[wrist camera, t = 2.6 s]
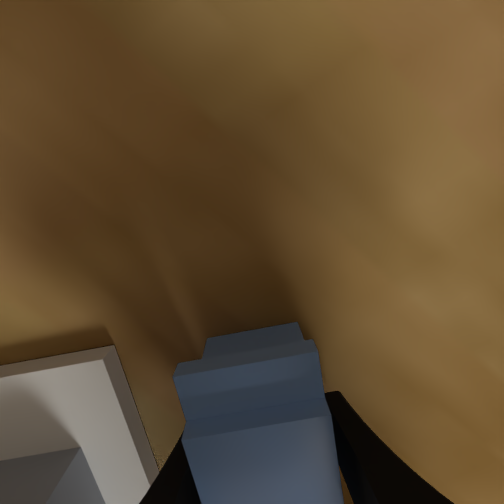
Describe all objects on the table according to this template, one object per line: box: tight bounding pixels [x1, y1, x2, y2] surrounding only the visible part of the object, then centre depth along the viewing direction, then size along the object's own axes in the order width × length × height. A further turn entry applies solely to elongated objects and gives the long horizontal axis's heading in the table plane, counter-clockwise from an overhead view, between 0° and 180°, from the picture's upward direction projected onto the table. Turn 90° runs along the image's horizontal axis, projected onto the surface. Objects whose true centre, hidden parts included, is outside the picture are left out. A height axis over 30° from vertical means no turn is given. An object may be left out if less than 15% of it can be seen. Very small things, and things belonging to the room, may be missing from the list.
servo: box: [173, 322, 344, 504], centre depth 10 cm, size 4×10×6 cm, turn 11°
